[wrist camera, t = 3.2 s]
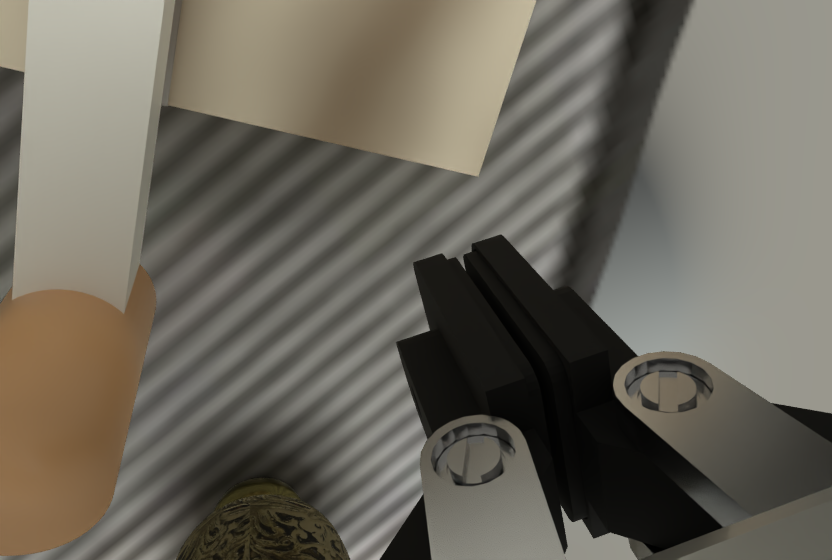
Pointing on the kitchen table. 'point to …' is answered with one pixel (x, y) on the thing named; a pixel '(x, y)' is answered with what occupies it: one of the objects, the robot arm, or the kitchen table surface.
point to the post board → (340, 69)
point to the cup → (263, 527)
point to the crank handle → (78, 263)
